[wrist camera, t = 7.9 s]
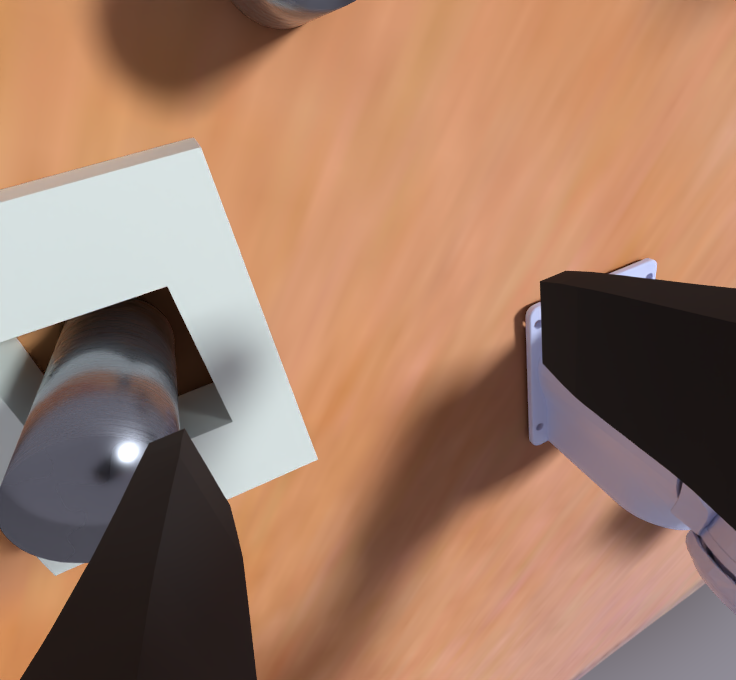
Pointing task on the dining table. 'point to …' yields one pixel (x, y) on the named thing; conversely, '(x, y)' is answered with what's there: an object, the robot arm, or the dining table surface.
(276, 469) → the board
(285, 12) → the pin short
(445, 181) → the dining table surface
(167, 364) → the pin long
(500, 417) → the dining table surface
